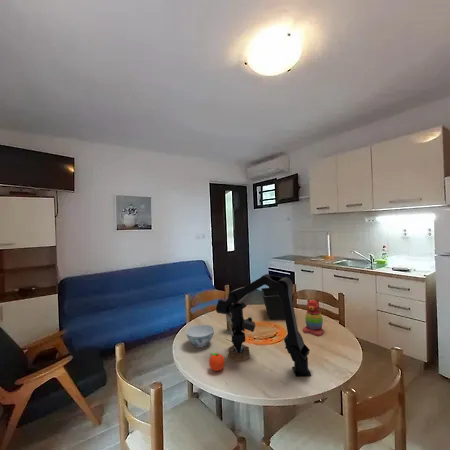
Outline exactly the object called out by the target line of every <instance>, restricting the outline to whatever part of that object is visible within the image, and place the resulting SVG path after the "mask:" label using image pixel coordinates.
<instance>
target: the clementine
mask: <svg viewBox="0 0 450 450" xmlns="http://www.w3.org/2000/svg"><path fill="white" fill-rule="evenodd" d="M209 356H210V357H209V361H208V365H209V367H210V369H211V370H212V371H215V372H220V371H222V370H223V368H224V367H225V364H226V362H225V358H224V356H223V354H220V353H217V352H213V353H211V354H210V355H209Z"/></svg>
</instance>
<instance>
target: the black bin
mask: <svg viewBox="0 0 450 450" xmlns="http://www.w3.org/2000/svg"><path fill="white" fill-rule="evenodd" d="M261 295H262V299H263V303H264V306H265V310H266V313H267V314H268V315H267V316H268V319H269V320H285V316H284V311H283V305H282V301H281V299H280V297H279V296H278V294H277V291H276V290H274V289H272V288H270V287H265V288H264V287H262V288H261ZM294 296H295V295H294V293H292V302H293V303H294Z"/></svg>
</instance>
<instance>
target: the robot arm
mask: <svg viewBox="0 0 450 450" xmlns="http://www.w3.org/2000/svg"><path fill="white" fill-rule="evenodd" d="M293 285H294V283H293V281H292V279H290V277H286V276H285V277H281V276H277V275H273V274H269V273H266V274H263V275H262V276H261V277H259V278H258V279H256V280H254V281H252V282H250V283H249V284H247V285H245V286H243V287H242V286H241V287H239V288H235V289H234V290H232V291H230V292H229V293H228V296H227V299H221V298H219V299H218V300H217V304H216V307H215V312H216V313H217V314H221V315H225V316H226V315H229V314H230V313H231V328H232V331H233V333H232V334H231V340H232V342H233V343H232V345H233V344H234V346H235V348H236V350H237V352H238V353H240V351H241V346H242V344H243V343H245V342H246V333H245V332H244V331H250V332H252V333H253V332H254V331H255V329H256V322H255V321H254V320H253V318H252V317H250V316H249V317H248V318H246V319H245V318H244V315H243V314H244V309H245V308H247V304H246V303H245V302H244V301H242V300H243V299H245V298H246V297H247V296H248V295H249V294H251V293H252V292H255V291H256V290H258V289H259V288H261V287H263V286H267V287H268V288H272V289H274V290H276V291H277V294H278V296H279V297H280V299H281V301H282V305H283V311H284V316H285V319H284V320H285V325H286V326H285V327H286V331H287V334H286V336H285V337H284V339H283V341H284V343H285V344H284V345H285V348H284V349H285V350H287V353H288V354H289V355H290V357H291V361H292V362H293V366H292V367H291V368H292V371H293V374H294V375H295V377H311V376H312V373H311V371H310V369H309V357H308V356H309V354H310V351H311V350H310V348H309V347H308V346H307V345H306V344H305V342H304V338H303V335H302V334H301V333H300V332H299V328H298V323H297V318H296V317H297V316H296V313H295V308H294V301H293V302H292V293H293V292H294V290H293V289H294V287H293ZM293 294H294V293H293ZM241 301H242V302H241ZM239 302H240V303H239ZM231 303H233V304H231ZM242 331H243V332H242Z"/></svg>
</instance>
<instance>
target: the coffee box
mask: <svg viewBox="0 0 450 450" xmlns="http://www.w3.org/2000/svg"><path fill="white" fill-rule="evenodd" d="M231 304H233V303H231ZM225 317H226V320H225V321H226V333H227V334H230V335H232V333H233V331H232V328H231V313H230V314H229V315H226V314H225ZM242 332H243V333H244V331H242Z"/></svg>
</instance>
